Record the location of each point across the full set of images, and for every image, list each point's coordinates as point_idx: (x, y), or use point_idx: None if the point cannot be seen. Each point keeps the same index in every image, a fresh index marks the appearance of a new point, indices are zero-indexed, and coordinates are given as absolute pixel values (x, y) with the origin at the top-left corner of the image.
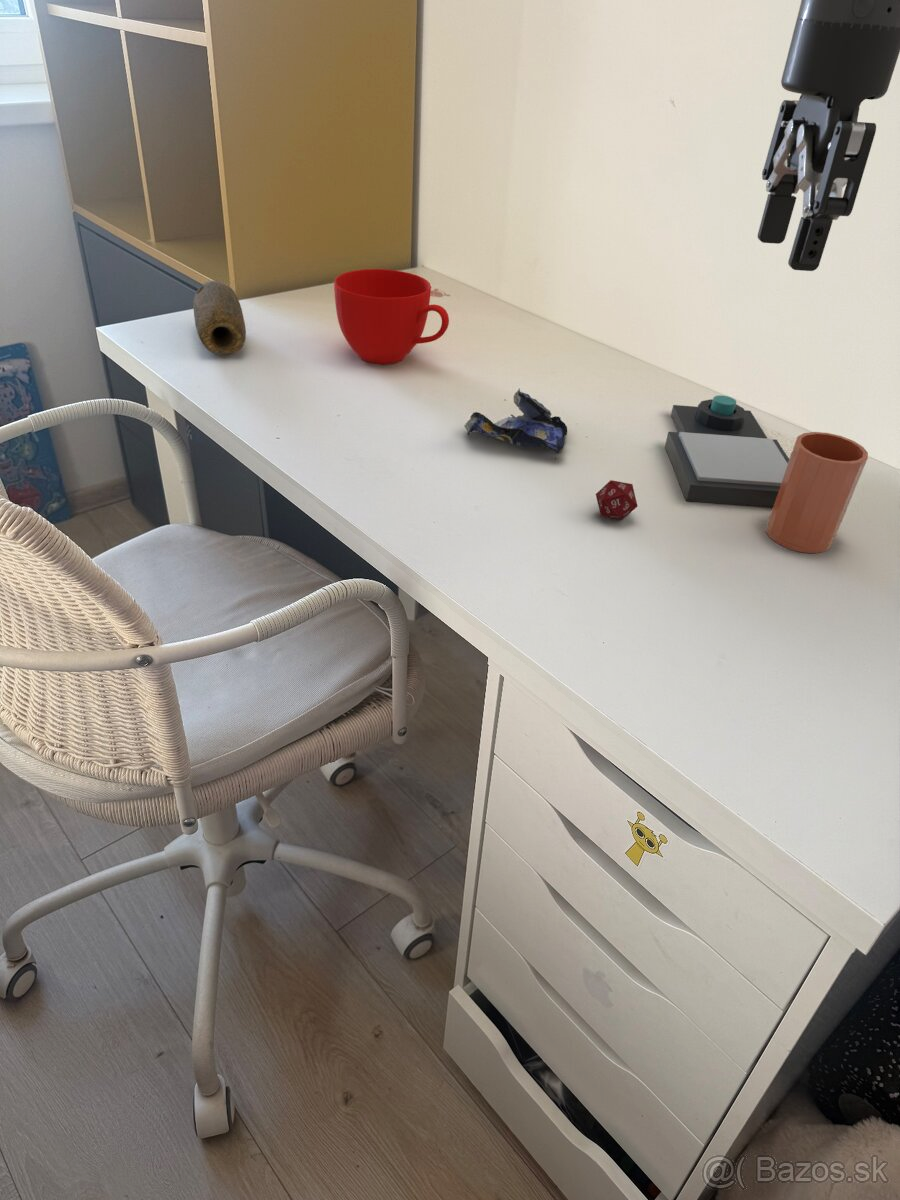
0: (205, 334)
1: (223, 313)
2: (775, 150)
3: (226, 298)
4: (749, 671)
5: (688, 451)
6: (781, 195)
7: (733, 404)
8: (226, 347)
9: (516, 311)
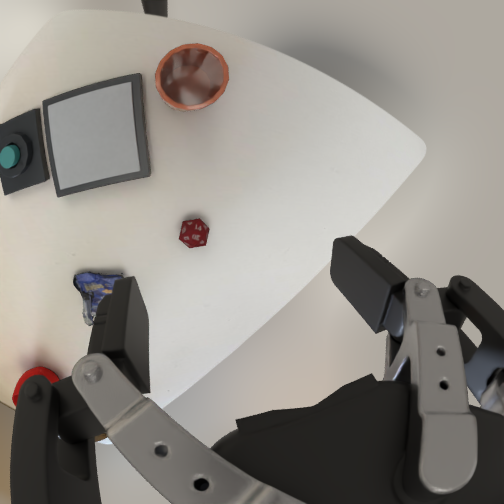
0: None
1: (100, 437)
2: (96, 483)
3: None
4: (341, 157)
5: (94, 180)
6: (134, 378)
7: (12, 148)
8: None
9: None
